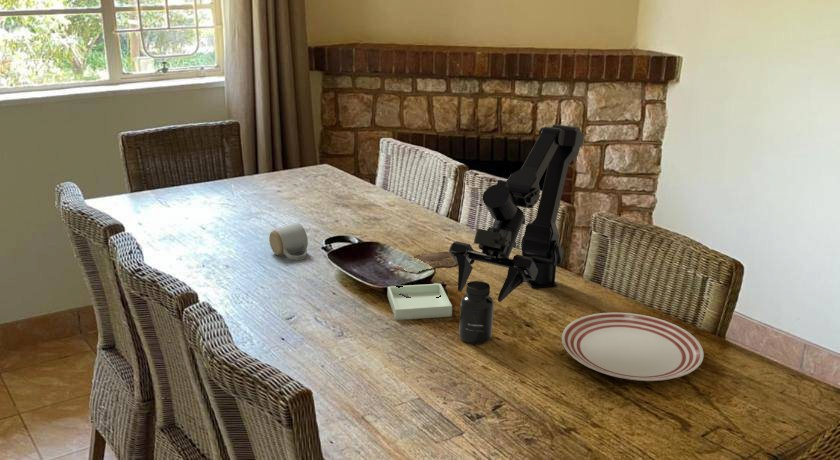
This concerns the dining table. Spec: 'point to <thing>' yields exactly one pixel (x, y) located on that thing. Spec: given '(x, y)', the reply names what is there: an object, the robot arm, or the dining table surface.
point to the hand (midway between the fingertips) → (478, 296)
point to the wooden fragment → (434, 260)
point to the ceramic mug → (289, 241)
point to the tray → (419, 302)
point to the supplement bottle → (476, 313)
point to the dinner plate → (632, 346)
